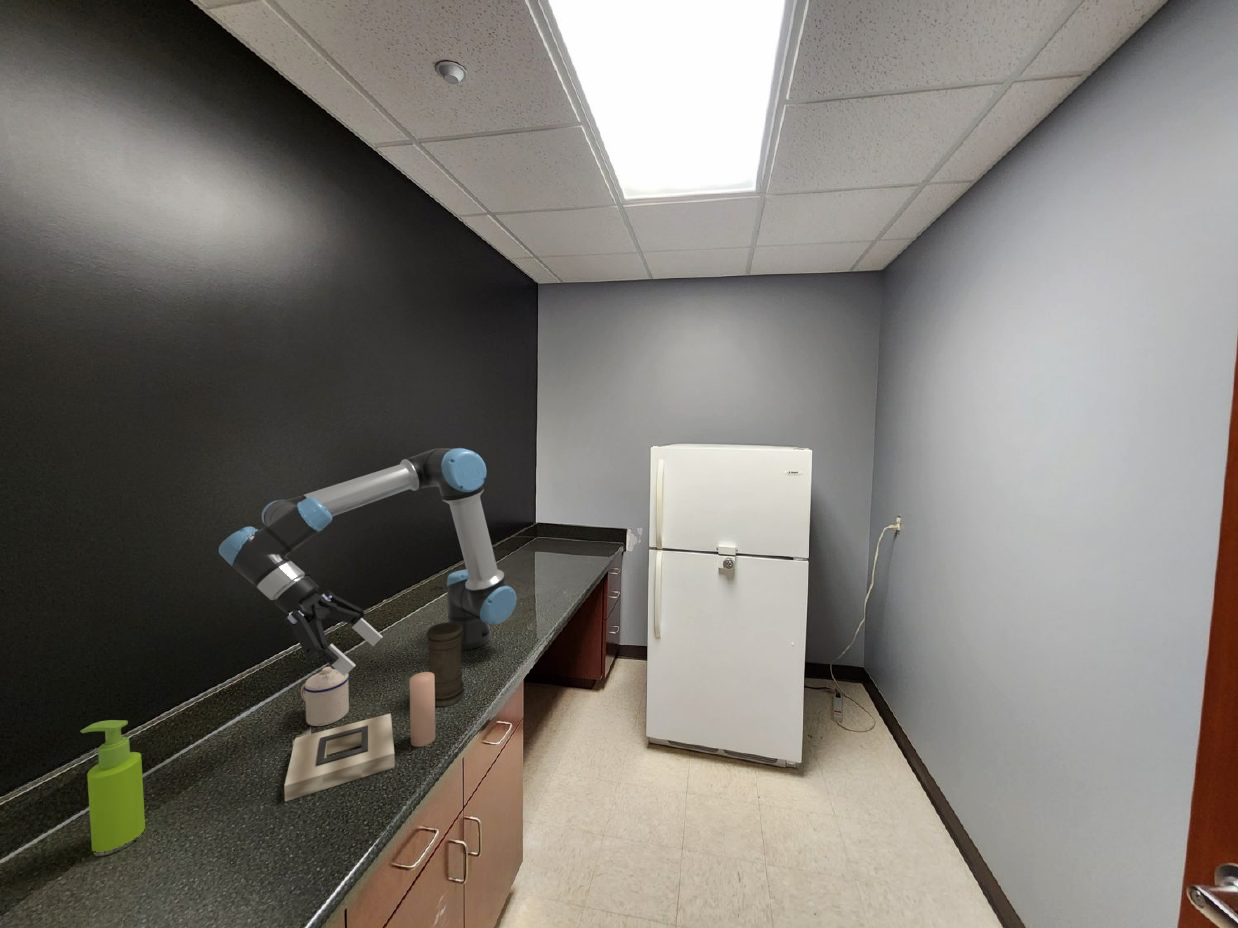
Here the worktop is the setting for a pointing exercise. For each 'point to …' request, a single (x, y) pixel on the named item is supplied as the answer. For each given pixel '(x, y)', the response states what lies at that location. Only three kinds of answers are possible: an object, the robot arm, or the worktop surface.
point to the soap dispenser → (115, 790)
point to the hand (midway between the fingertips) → (365, 655)
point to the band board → (339, 756)
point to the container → (446, 662)
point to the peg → (422, 709)
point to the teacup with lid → (326, 697)
